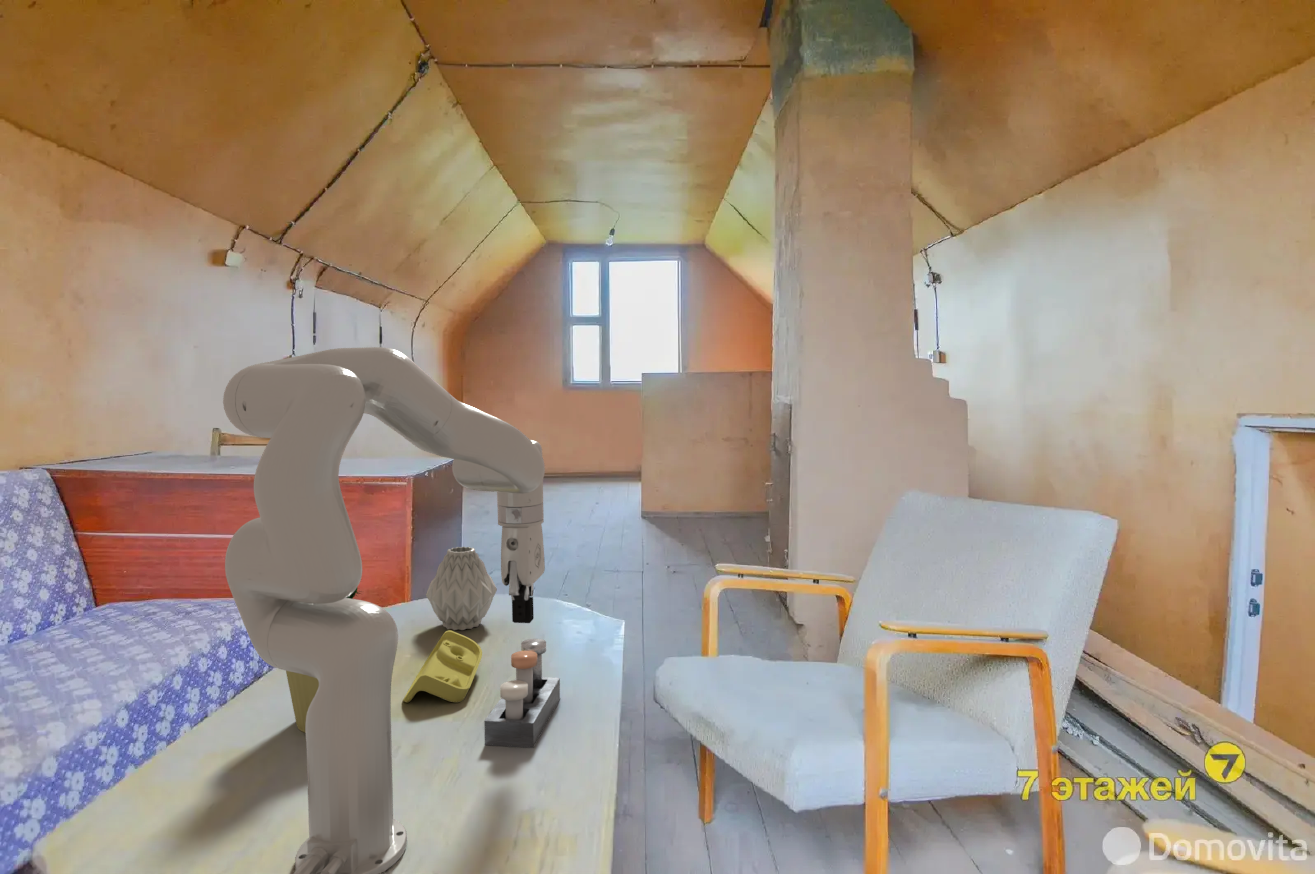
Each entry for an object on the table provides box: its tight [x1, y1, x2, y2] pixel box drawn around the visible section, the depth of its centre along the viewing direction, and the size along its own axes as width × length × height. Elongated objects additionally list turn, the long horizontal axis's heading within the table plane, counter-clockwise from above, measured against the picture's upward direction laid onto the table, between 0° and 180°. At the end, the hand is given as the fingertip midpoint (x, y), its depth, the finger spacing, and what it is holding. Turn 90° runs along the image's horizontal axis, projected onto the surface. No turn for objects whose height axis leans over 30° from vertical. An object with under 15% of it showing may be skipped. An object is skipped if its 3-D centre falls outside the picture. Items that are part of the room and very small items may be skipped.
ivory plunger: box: [499, 679, 528, 720], centre depth 118 cm, size 4×4×8 cm
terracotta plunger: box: [510, 650, 537, 704], centre depth 124 cm, size 4×4×8 cm
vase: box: [425, 546, 498, 631], centre depth 173 cm, size 16×16×18 cm
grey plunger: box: [520, 638, 547, 689], centre depth 130 cm, size 4×4×8 cm
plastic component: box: [402, 629, 483, 704], centre depth 140 cm, size 20×7×10 cm
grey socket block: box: [483, 676, 561, 749], centre depth 124 cm, size 18×8×4 cm, turn 174°
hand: (523, 621), depth 122 cm, fingers closed
